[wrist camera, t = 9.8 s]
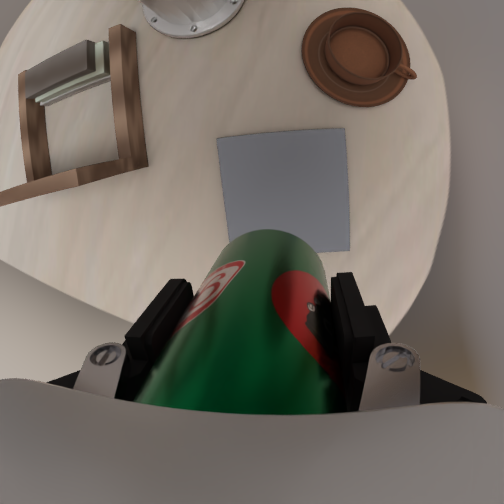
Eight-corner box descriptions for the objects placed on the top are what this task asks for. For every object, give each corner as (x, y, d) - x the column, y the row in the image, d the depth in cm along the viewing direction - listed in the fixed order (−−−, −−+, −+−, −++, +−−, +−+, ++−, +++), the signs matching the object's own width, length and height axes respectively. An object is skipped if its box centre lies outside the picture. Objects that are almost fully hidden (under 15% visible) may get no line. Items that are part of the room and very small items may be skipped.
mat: (217, 138, 34) (216, 138, 33) (343, 128, 31) (344, 128, 31) (232, 255, 38) (231, 257, 38) (348, 249, 36) (349, 250, 36)
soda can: (234, 208, 14) (54, 451, 2) (342, 248, 14) (422, 532, 2) (204, 303, 16) (91, 529, 4) (299, 336, 16) (285, 581, 4)
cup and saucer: (402, 23, 26) (420, 5, 20) (404, 115, 30) (425, 112, 24) (301, 9, 27) (302, -14, 21) (300, 103, 31) (302, 95, 26)
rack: (36, 76, 32) (-34, 72, 19) (135, 32, 30) (68, -1, 17) (47, 188, 38) (-23, 213, 25) (148, 166, 36) (78, 186, 23)
